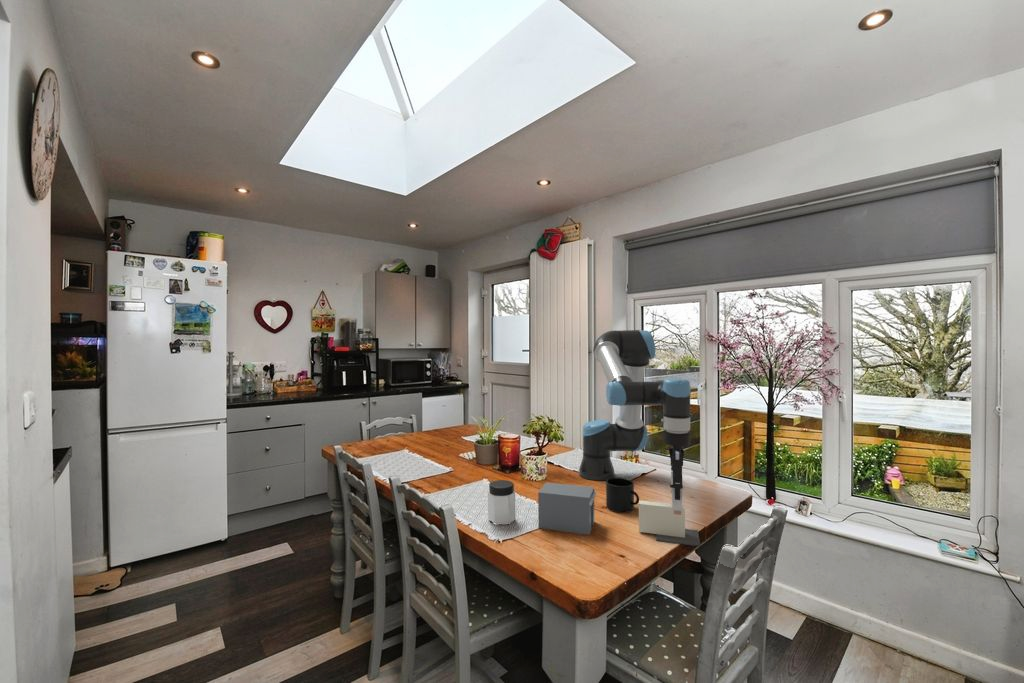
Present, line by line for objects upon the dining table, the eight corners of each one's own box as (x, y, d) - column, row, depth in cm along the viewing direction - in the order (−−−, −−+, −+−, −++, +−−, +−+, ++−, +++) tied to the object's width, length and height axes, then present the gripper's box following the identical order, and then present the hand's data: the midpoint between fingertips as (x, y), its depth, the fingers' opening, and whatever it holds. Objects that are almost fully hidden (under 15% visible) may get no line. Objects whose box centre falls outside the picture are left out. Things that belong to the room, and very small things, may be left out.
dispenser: (546, 515, 146) (546, 482, 146) (596, 521, 140) (596, 487, 140) (538, 528, 136) (538, 492, 136) (591, 535, 131) (591, 498, 131)
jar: (515, 515, 146) (515, 479, 146) (515, 525, 138) (515, 487, 138) (489, 515, 146) (488, 479, 146) (487, 525, 138) (487, 488, 138)
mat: (656, 526, 136) (656, 525, 136) (697, 531, 132) (697, 530, 132) (656, 540, 127) (656, 539, 127) (700, 546, 123) (700, 545, 123)
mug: (632, 517, 144) (631, 490, 144) (601, 507, 152) (600, 482, 152) (645, 509, 150) (645, 483, 150) (615, 500, 159) (615, 476, 159)
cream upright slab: (639, 527, 135) (639, 500, 135) (684, 533, 130) (684, 505, 130) (639, 531, 132) (638, 503, 132) (685, 537, 128) (684, 508, 128)
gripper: (662, 421, 143) (662, 485, 143) (663, 439, 119) (663, 516, 120) (687, 422, 140) (687, 487, 141) (693, 441, 117) (692, 519, 117)
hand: (676, 501), depth 130 cm, fingers open, 13 cm apart
